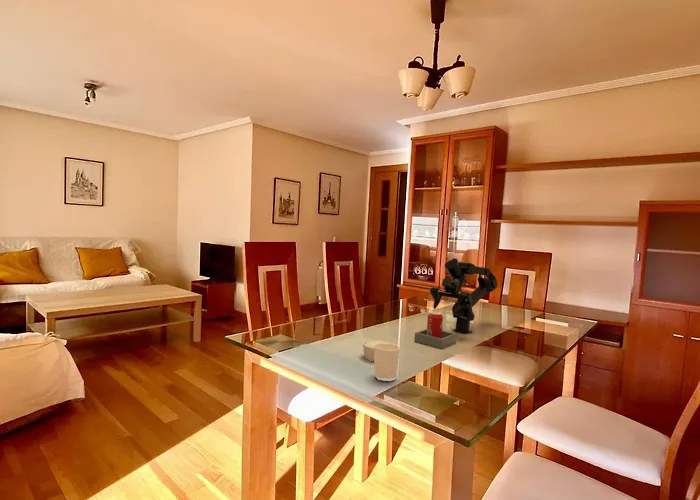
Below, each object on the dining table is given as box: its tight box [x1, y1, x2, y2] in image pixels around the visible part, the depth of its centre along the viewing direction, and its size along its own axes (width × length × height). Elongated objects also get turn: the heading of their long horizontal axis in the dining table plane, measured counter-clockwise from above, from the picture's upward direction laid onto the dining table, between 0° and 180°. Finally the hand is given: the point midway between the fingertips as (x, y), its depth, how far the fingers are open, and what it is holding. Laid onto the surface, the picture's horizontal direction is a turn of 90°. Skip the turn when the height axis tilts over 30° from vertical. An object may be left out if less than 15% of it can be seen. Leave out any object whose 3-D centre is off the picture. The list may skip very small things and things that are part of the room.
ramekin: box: [362, 339, 393, 362], centre depth 136 cm, size 11×11×5 cm
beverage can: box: [426, 311, 444, 339], centre depth 159 cm, size 6×6×12 cm
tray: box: [414, 328, 457, 350], centre depth 159 cm, size 13×13×4 cm
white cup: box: [373, 342, 401, 379], centre depth 117 cm, size 8×8×10 cm
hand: (443, 310), depth 165 cm, fingers open, 9 cm apart
